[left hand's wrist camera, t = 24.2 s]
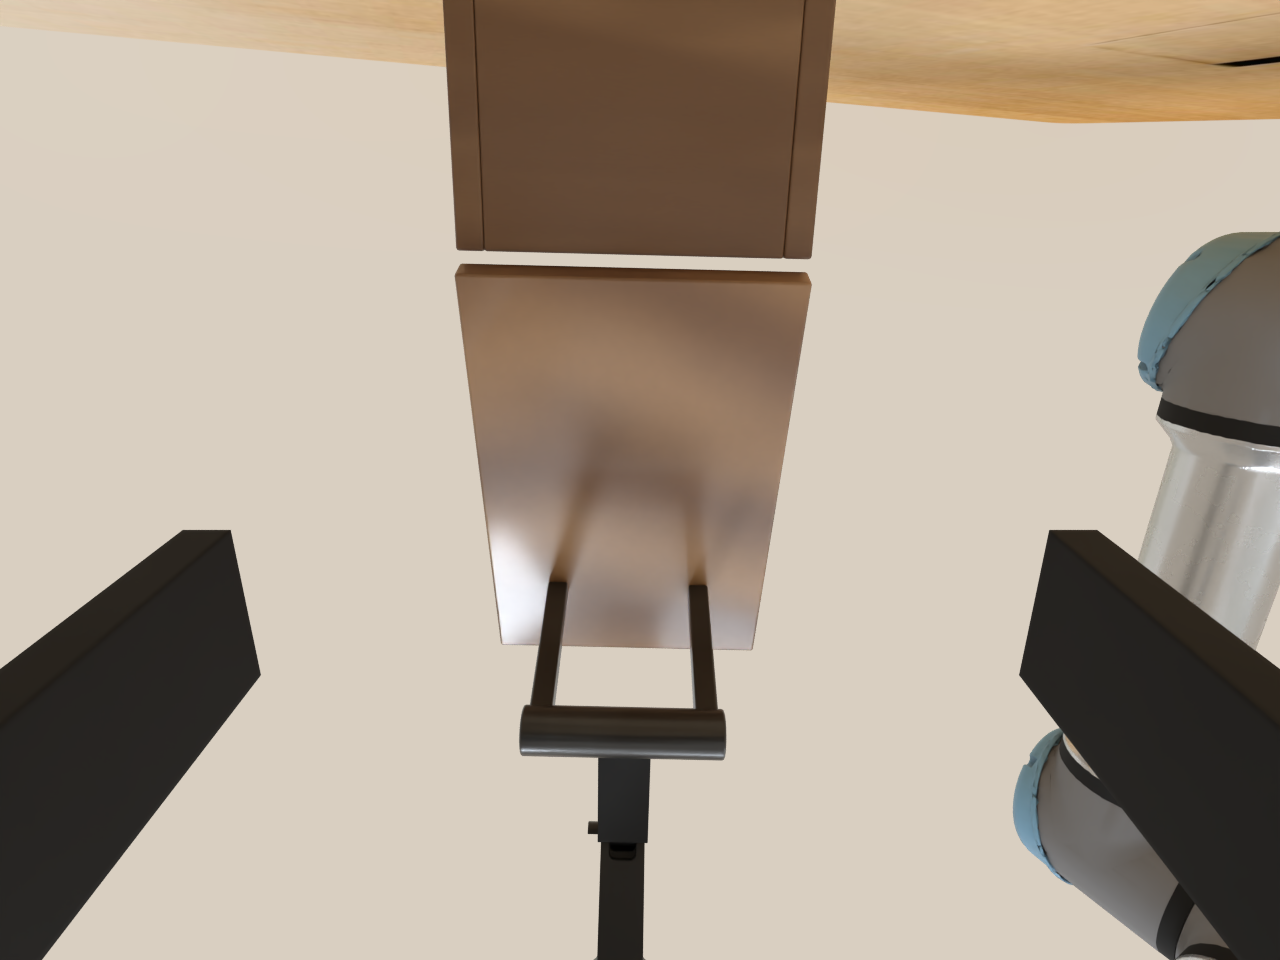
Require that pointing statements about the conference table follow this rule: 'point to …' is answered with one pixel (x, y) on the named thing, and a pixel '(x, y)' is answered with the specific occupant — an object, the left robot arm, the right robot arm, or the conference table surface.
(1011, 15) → the conference table surface
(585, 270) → the lid
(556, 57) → the chest
